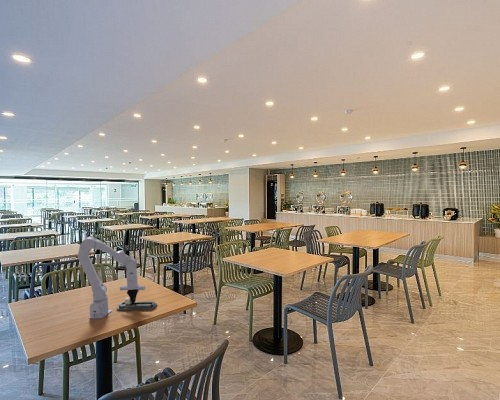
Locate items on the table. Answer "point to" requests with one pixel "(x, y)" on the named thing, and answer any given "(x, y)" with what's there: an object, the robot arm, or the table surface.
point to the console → (137, 306)
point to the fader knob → (128, 301)
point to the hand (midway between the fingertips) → (133, 302)
